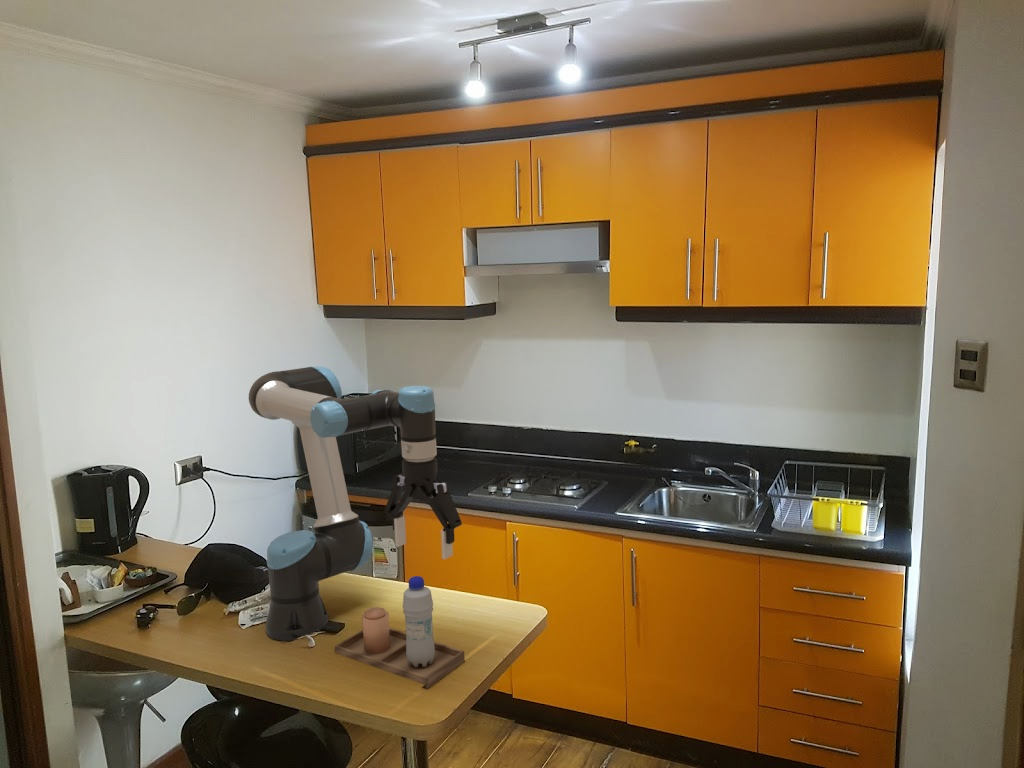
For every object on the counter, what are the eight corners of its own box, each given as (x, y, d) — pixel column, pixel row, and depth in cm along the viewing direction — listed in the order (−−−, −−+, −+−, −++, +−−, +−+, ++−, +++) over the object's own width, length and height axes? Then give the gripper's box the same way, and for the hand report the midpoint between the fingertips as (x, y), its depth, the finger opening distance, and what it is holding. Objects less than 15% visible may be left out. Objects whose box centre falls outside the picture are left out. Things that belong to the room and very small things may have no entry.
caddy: (335, 656, 175) (334, 646, 175) (375, 632, 186) (374, 623, 186) (426, 689, 160) (426, 678, 160) (464, 661, 171) (464, 651, 171)
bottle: (400, 667, 167) (395, 581, 164) (414, 653, 173) (409, 569, 170) (427, 672, 165) (423, 585, 162) (441, 657, 171) (436, 573, 168)
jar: (358, 649, 176) (356, 614, 174) (376, 638, 181) (374, 604, 179) (377, 656, 172) (375, 620, 171) (395, 645, 177) (393, 609, 176)
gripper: (365, 454, 169) (370, 545, 172) (453, 469, 155) (457, 568, 158) (389, 447, 175) (393, 535, 178) (475, 461, 161) (478, 556, 164)
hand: (423, 550), depth 168 cm, fingers open, 13 cm apart
